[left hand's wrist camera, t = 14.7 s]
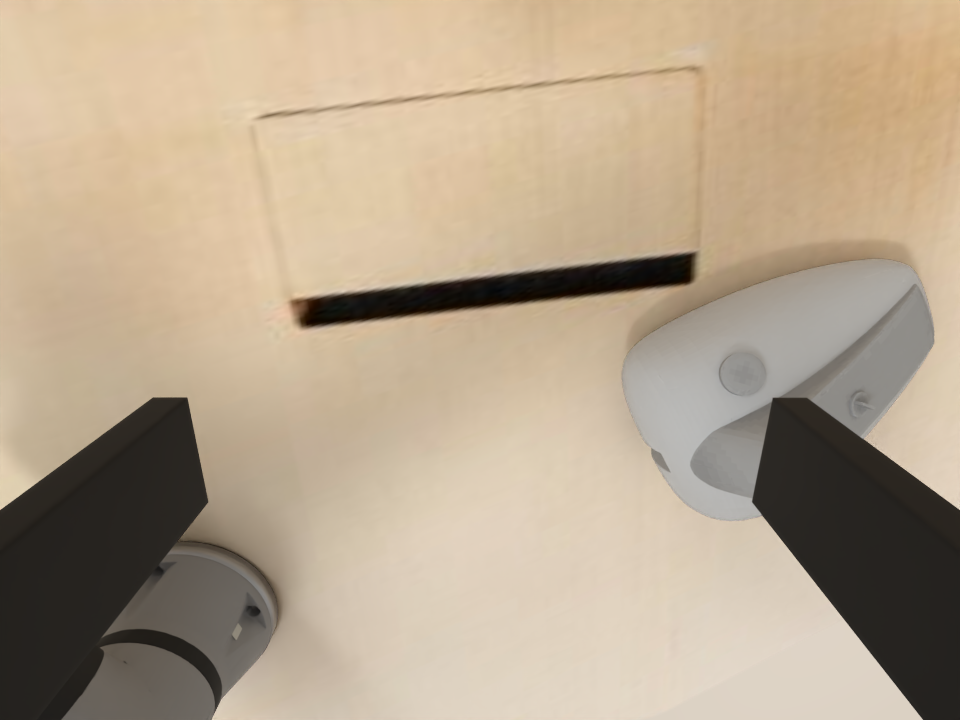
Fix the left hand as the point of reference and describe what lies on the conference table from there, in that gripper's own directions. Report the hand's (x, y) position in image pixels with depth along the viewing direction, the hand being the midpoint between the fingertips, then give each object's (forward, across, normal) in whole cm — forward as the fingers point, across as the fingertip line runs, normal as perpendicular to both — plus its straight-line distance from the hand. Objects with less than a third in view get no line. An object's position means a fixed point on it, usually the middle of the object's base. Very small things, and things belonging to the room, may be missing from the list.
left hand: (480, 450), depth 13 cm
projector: (+32, -23, +9) cm, 41 cm away
